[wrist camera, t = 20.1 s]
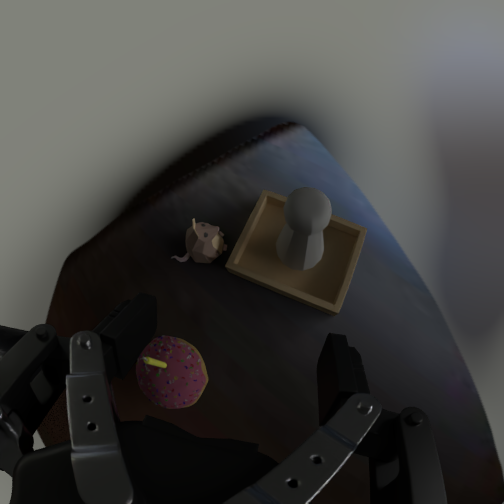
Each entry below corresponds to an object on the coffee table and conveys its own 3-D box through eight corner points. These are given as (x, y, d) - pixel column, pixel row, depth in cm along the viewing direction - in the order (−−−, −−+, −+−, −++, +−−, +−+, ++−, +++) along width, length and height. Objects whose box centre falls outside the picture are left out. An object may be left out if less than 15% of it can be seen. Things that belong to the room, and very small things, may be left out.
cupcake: (158, 332, 34) (108, 323, 23) (220, 344, 33) (191, 342, 22) (150, 393, 31) (98, 407, 20) (211, 408, 30) (179, 435, 19)
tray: (228, 271, 36) (224, 266, 34) (264, 198, 39) (263, 189, 37) (334, 316, 33) (338, 313, 31) (362, 236, 36) (367, 228, 34)
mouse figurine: (167, 242, 38) (148, 222, 32) (221, 223, 38) (210, 200, 32) (174, 275, 37) (154, 261, 30) (230, 257, 37) (221, 238, 30)
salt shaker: (267, 259, 36) (261, 212, 23) (290, 224, 37) (295, 165, 25) (306, 283, 34) (322, 247, 22) (329, 247, 35) (352, 196, 23)
